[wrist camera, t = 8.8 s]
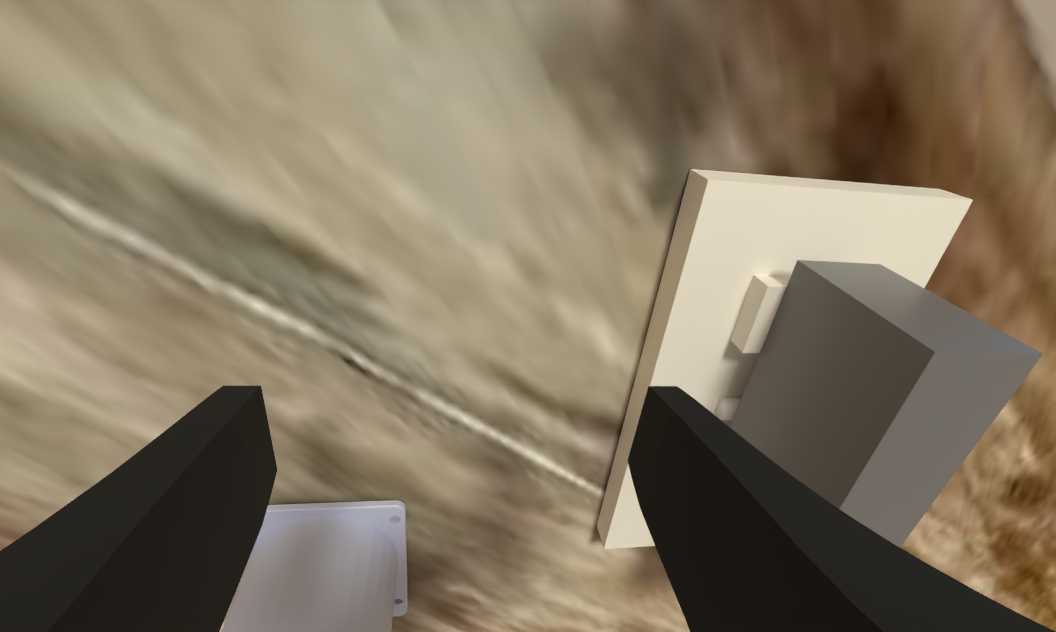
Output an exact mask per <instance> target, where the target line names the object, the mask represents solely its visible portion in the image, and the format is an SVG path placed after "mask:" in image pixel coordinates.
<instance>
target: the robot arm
mask: <svg viewBox="0 0 1056 632" xmlns="http://www.w3.org/2000/svg"><path fill="white" fill-rule="evenodd" d="M627 461H628V465H629V469H630V473H631V477H632V481H633V485H634V488H635V492H636V495H637V499H638V502H639V506H640V509H641V512H642V514H643V517H644V519H645V522H646V524H647V527H648V529H649V532H650V534H651V537H652V539H653V541H654V544H655V546H656V549H657V551H658V554H659V556H660V558H661V561H662V563H663V566H664V568H665V571H666V573H667V575H668V578H669V580H670V583H671V585H672V587H673V590H674V592H675V595H676V597H677V599H678V602H679V604H680V607H681V609H682V612H683V614H684V616H685V619H686V621H687V624H688V627H689V629H690V632H1055V631H1053V630H1051V629H1049V628H1047V627H1045V626H1043V625H1041V624H1039V623H1037V622H1035V621H1033V620H1031V619H1028V618H1026V617H1024V616H1022V615H1020V614H1019V613H1017V612H1015V611H1013V610H1011V609H1009V608H1007V607H1005V606H1003V605H1001V604H999V603H998V602H996V601H994V600H992V599H990V598H988V597H986V596H984V595H982V594H980V593H979V592H977V591H975V590H973V589H971V588H969V587H968V586H966V585H964V584H962V583H961V582H959V581H957V580H955V579H953V578H952V577H950V576H948V575H946V574H944V573H943V572H941V571H939V570H937V569H936V568H934V567H932V566H930V565H928V564H927V563H925V562H923V561H921V560H920V559H918V558H916V557H915V556H913V555H911V554H910V553H908V552H906V551H905V550H903V549H901V548H899V547H898V546H896V545H895V544H893V543H891V542H890V541H888V540H887V539H885V538H883V537H882V536H880V535H879V534H877V533H876V532H874V531H872V530H871V529H869V528H868V527H866V526H865V525H863V524H861V523H860V522H858V521H857V520H855V519H853V518H852V517H850V516H849V515H847V514H846V513H844V512H843V511H841V510H840V509H838V508H837V507H835V506H834V505H833V504H831V503H830V502H828V501H827V500H825V499H824V498H823V497H821V496H820V495H818V494H817V493H816V492H814V491H813V490H811V489H810V488H809V487H807V486H806V485H804V484H803V483H802V482H800V481H799V480H797V479H796V478H795V477H793V476H792V475H791V474H789V473H788V472H787V471H785V470H784V469H783V468H781V467H780V466H779V465H777V464H776V463H775V462H773V461H772V460H771V459H769V458H768V457H767V456H765V455H764V454H763V453H762V452H760V451H759V450H758V449H757V448H755V447H754V446H753V445H751V444H750V443H749V442H748V441H746V440H745V439H744V438H743V437H741V436H740V435H739V434H738V433H736V432H735V431H734V430H733V429H731V428H730V427H729V426H728V425H726V424H725V423H724V422H723V421H721V420H720V419H719V418H718V417H716V416H715V415H714V414H713V413H711V412H710V411H709V410H708V409H706V408H705V407H704V406H703V405H701V404H700V403H699V402H698V401H696V400H695V399H694V398H693V397H691V396H690V395H689V394H687V393H686V392H685V391H683V390H682V389H680V388H679V387H677V386H648V390H647V393H646V397H645V400H644V404H643V407H642V411H641V414H640V418H639V421H638V425H637V429H636V432H635V436H634V439H633V443H632V446H631V450H630V453H629V457H628V460H627ZM276 472H277V466H276V461H275V456H274V451H273V446H272V441H271V436H270V430H269V425H268V420H267V415H266V410H265V405H264V399H263V394H262V389H261V386H222V387H221V388H220V389H218V390H217V391H216V392H214V393H213V394H212V395H210V396H209V397H208V398H206V399H205V400H204V401H203V402H201V403H200V404H199V405H197V406H196V407H195V408H194V409H192V410H191V411H190V412H189V413H187V414H186V415H185V416H184V417H182V418H181V419H180V420H179V421H177V422H176V423H175V424H174V425H172V426H171V427H170V428H169V429H167V430H166V431H165V432H164V433H162V434H161V435H160V436H158V437H157V438H156V439H155V440H153V441H152V442H151V443H149V444H148V445H147V446H145V447H144V448H143V449H142V450H140V451H139V452H138V453H136V454H135V455H134V456H133V457H131V458H130V459H129V460H127V461H126V462H125V463H123V464H122V465H121V466H120V467H118V468H117V469H116V470H114V471H113V472H112V473H110V474H109V475H108V476H106V477H105V478H104V479H102V480H101V481H99V482H98V483H97V484H95V485H94V486H92V487H91V488H90V489H88V490H87V491H85V492H84V493H83V494H81V495H80V496H78V497H77V498H76V499H74V500H73V501H71V502H70V503H69V504H67V505H66V506H64V507H63V508H62V509H60V510H59V511H58V512H56V513H55V514H53V515H52V516H51V517H49V518H48V519H46V520H45V521H44V522H42V523H41V524H39V525H38V526H37V527H35V528H34V529H32V530H31V531H29V532H28V533H26V534H25V535H23V536H22V537H20V538H19V539H18V540H16V541H15V542H13V543H12V544H10V545H9V546H7V547H5V548H4V549H2V550H1V551H0V632H219V631H220V628H221V626H222V623H223V621H224V618H225V616H226V613H227V611H228V609H229V606H230V604H231V601H232V599H233V596H234V594H235V592H236V589H237V587H238V584H239V582H240V584H239V587H238V589H237V592H236V595H235V597H234V600H233V603H232V606H231V608H230V611H229V614H228V616H227V619H226V622H225V624H224V627H223V630H222V632H391V631H392V620H393V617H398V616H402V615H404V614H406V613H407V610H408V590H407V540H406V506H405V504H404V503H403V502H402V501H399V500H385V501H359V502H333V503H307V504H281V505H268V503H269V500H270V496H271V492H272V488H273V484H274V480H275V476H276ZM244 570H245V571H244ZM243 572H244V573H243ZM242 575H243V576H242ZM241 577H242V579H241ZM240 579H241V581H240Z"/></svg>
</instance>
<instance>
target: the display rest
mask: <svg viewBox="0 0 1056 632" xmlns="http://www.w3.org/2000/svg"><path fill="white" fill-rule="evenodd" d="M972 201H973V200H971V199H968V198H965V197H962V196H959V195H956V194H953V193H950V192H947V191H944V190H941V189H933V188H920V187H908V186H896V185H883V184H871V183H858V182H846V181H833V180H821V179H808V178H796V177H784V176H771V175H759V174H746V173H734V172H721V171H709V170H697V169H690V172H689V176H688V180H687V183H686V187H685V191H684V195H683V199H682V202H681V206H680V210H679V214H678V218H677V221H676V225H675V229H674V233H673V237H672V241H671V244H670V248H669V252H668V256H667V260H666V263H665V267H664V271H663V275H662V279H661V282H660V286H659V290H658V294H657V298H656V301H655V305H654V309H653V313H652V317H651V321H650V324H649V328H648V332H647V336H646V340H645V343H644V347H643V351H642V355H641V359H640V362H639V366H638V370H637V374H636V378H635V381H634V385H633V389H632V393H631V397H630V401H629V404H628V408H627V412H626V416H625V420H624V423H623V427H622V431H621V435H620V439H619V442H618V446H617V450H616V454H615V458H614V462H613V465H612V469H611V473H610V477H609V481H608V484H607V488H606V492H605V496H604V500H603V503H602V507H601V511H600V515H599V519H598V522H597V528H598V531H599V534H600V538H601V541H602V544H603V548H604V549H612V548H629V547H646V546H655V544H654V541H653V539H652V537H651V534H650V532H649V529H648V527H647V524H646V522H645V519H644V517H643V514H642V512H641V509H640V506H639V502H638V499H637V495H636V492H635V488H634V485H633V481H632V477H631V473H630V469H629V465H628V461H627V460H628V457H629V453H630V450H631V446H632V443H633V439H634V436H635V432H636V429H637V425H638V421H639V418H640V414H641V411H642V407H643V404H644V400H645V397H646V393H647V390H648V386H677V387H679V388H680V389H682V390H683V391H685V392H686V393H687V394H689V395H690V396H691V397H693V398H694V399H695V400H696V401H698V402H699V403H700V404H701V405H703V406H704V407H705V408H706V409H708V410H709V411H710V412H711V413H713V414H714V415H715V416H716V417H718V418H719V419H720V420H721V421H723V422H724V423H725V424H726V425H728V426H729V427H730V425H731V423H732V420H733V418H734V415H735V413H736V410H737V408H738V405H739V403H740V400H741V398H742V396H743V393H744V391H745V388H746V386H747V383H748V381H749V378H750V376H751V373H752V371H753V368H754V366H755V363H756V361H757V358H758V356H759V354H760V351H761V349H762V346H763V344H764V341H765V339H766V336H767V334H768V331H769V329H770V326H771V324H772V321H773V319H774V316H775V314H776V311H777V309H778V307H779V304H780V302H781V299H782V297H783V294H784V292H785V289H786V287H787V284H788V282H789V279H790V277H791V274H792V272H793V269H794V267H795V265H796V262H797V260H809V261H828V262H848V263H867V264H881V265H882V266H884V267H886V268H888V269H890V270H892V271H893V272H895V273H897V274H899V275H901V276H902V277H904V278H906V279H908V280H910V281H912V282H913V283H915V284H917V285H919V286H921V287H922V288H925V286H926V284H927V282H928V280H929V279H930V277H931V275H932V273H933V271H934V270H935V268H936V266H937V264H938V262H939V261H940V259H941V257H942V255H943V253H944V251H945V250H946V248H947V246H948V244H949V242H950V241H951V239H952V237H953V235H954V233H955V232H956V230H957V228H958V226H959V224H960V223H961V221H962V219H963V217H964V215H965V214H966V212H967V210H968V208H969V206H970V205H971V203H972Z"/></svg>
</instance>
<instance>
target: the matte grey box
mask: <svg viewBox="0 0 1056 632" xmlns="http://www.w3.org/2000/svg"><path fill="white" fill-rule="evenodd" d="M1041 356H1042V353H1040V352H1039V351H1037V350H1035V349H1033V348H1031V347H1029V346H1028V345H1026V344H1024V343H1022V342H1020V341H1019V340H1017V339H1015V338H1013V337H1011V336H1010V335H1008V334H1006V333H1004V332H1002V331H1000V330H999V329H997V328H995V327H993V326H991V325H990V324H988V323H986V322H984V321H982V320H980V319H979V318H977V317H975V316H973V315H971V314H970V313H968V312H966V311H964V310H962V309H961V308H959V307H957V306H955V305H953V304H951V303H950V302H948V301H946V300H944V299H942V298H941V297H939V296H937V295H935V294H933V293H931V292H930V291H928V290H926V289H924V288H922V287H921V286H919V285H917V284H915V283H913V282H912V281H910V280H908V279H906V278H904V277H902V276H901V275H899V274H897V273H895V272H893V271H892V270H890V269H888V268H886V267H884V266H882V265H881V264H867V263H848V262H828V261H809V260H797V262H796V265H795V267H794V269H793V272H792V274H791V277H790V279H789V282H788V284H787V287H786V289H785V292H784V294H783V297H782V299H781V302H780V304H779V307H778V309H777V311H776V314H775V316H774V319H773V321H772V324H771V326H770V329H769V331H768V334H767V336H766V339H765V341H764V344H763V346H762V349H761V351H760V354H759V356H758V358H757V361H756V363H755V366H754V368H753V371H752V373H751V376H750V378H749V381H748V383H747V386H746V388H745V391H744V393H743V396H742V398H741V400H740V403H739V405H738V408H737V410H736V413H735V415H734V418H733V420H732V423H731V425H730V428H731V429H733V430H734V431H735V432H736V433H738V434H739V435H740V436H741V437H743V438H744V439H745V440H746V441H748V442H749V443H750V444H751V445H753V446H754V447H755V448H757V449H758V450H759V451H760V452H762V453H763V454H764V455H765V456H767V457H768V458H769V459H771V460H772V461H773V462H775V463H776V464H777V465H779V466H780V467H781V468H783V469H784V470H785V471H787V472H788V473H789V474H791V475H792V476H793V477H795V478H796V479H797V480H799V481H800V482H802V483H803V484H804V485H806V486H807V487H809V488H810V489H811V490H813V491H814V492H816V493H817V494H818V495H820V496H821V497H823V498H824V499H825V500H827V501H828V502H830V503H831V504H833V505H834V506H835V507H837V508H838V509H840V510H841V511H843V512H844V513H846V514H847V515H849V516H850V517H852V518H853V519H855V520H857V521H858V522H860V523H861V524H863V525H865V526H866V527H868V528H869V529H871V530H872V531H874V532H876V533H877V534H879V535H880V536H882V537H883V538H885V539H887V540H888V541H890V542H891V543H893V544H895V545H896V546H898V547H899V548H900V546H901V545H902V544H903V542H904V541H905V540H906V538H907V537H908V536H909V534H910V533H911V532H912V530H913V529H914V528H915V526H916V525H917V523H918V522H919V521H920V519H921V518H922V517H923V515H924V514H925V513H926V511H927V510H928V509H929V507H930V506H931V505H932V503H933V502H934V501H935V499H936V498H937V496H938V495H939V494H940V492H941V491H942V490H943V488H944V487H945V486H946V484H947V483H948V482H949V480H950V479H951V478H952V476H953V475H954V473H955V472H956V471H957V469H958V468H959V467H960V465H961V464H962V463H963V461H964V460H965V459H966V457H967V456H968V455H969V453H970V452H971V450H972V449H973V448H974V446H975V445H976V444H977V442H978V441H979V440H980V438H981V437H982V436H983V434H984V433H985V432H986V430H987V429H988V427H989V426H990V425H991V423H992V422H993V421H994V419H995V418H996V417H997V415H998V414H999V413H1000V411H1001V410H1002V409H1003V407H1004V406H1005V405H1006V403H1007V402H1008V400H1009V399H1010V398H1011V396H1012V395H1013V394H1014V392H1015V391H1016V390H1017V388H1018V387H1019V386H1020V384H1021V383H1022V382H1023V380H1024V379H1025V377H1026V376H1027V375H1028V373H1029V372H1030V371H1031V369H1032V368H1033V367H1034V365H1035V364H1036V363H1037V361H1038V360H1039V359H1040V357H1041Z"/></svg>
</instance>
